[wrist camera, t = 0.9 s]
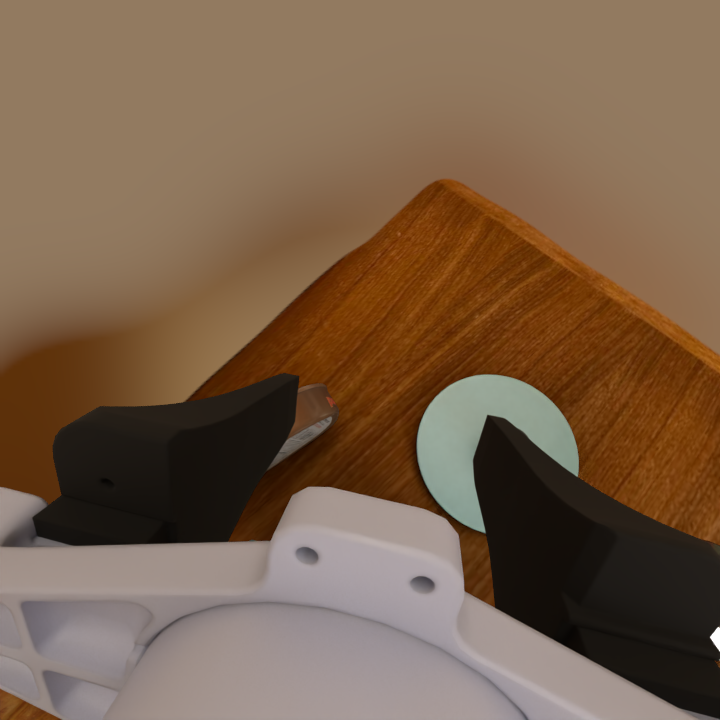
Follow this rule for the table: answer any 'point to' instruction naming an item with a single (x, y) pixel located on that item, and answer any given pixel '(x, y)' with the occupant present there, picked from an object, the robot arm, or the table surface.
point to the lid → (463, 430)
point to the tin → (308, 420)
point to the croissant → (20, 709)
